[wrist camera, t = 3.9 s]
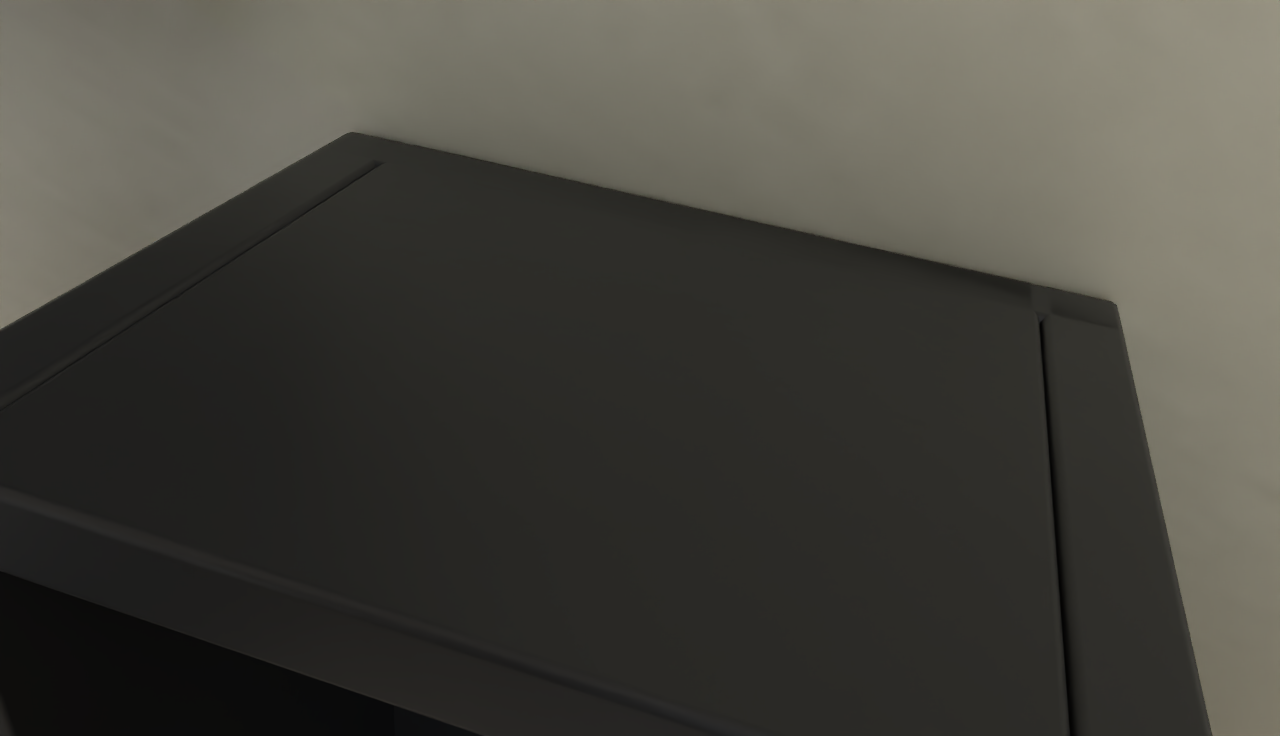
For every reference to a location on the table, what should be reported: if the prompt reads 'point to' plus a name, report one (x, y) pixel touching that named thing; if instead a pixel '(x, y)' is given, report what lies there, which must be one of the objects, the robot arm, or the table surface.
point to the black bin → (571, 479)
